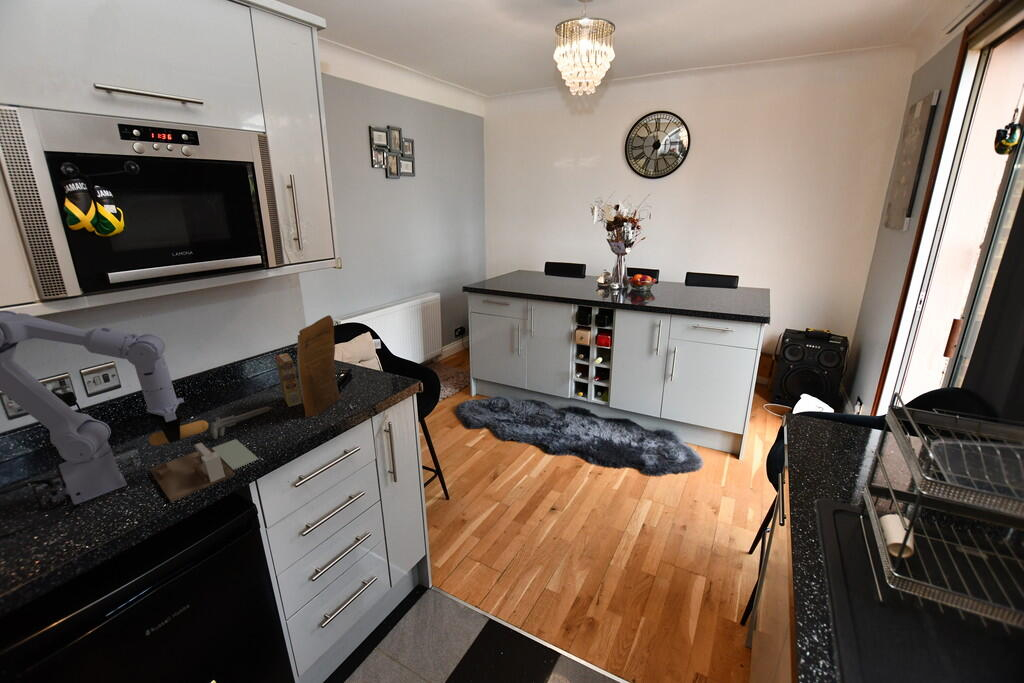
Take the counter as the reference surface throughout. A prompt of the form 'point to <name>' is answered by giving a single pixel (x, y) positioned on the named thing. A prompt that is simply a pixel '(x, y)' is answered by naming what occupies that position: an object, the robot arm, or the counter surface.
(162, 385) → the robot arm
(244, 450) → the mat
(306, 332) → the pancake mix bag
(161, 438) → the orange sausage
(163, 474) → the clamp board
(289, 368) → the candy box
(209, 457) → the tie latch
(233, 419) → the caliper
